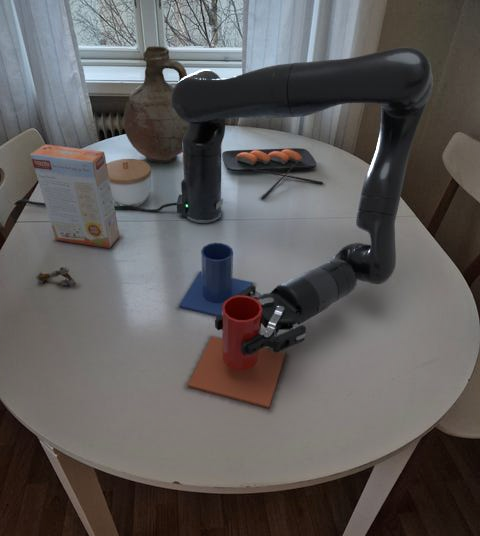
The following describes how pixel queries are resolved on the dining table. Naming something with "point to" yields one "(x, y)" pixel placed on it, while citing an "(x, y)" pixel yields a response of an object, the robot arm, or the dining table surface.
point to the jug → (155, 110)
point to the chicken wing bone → (62, 271)
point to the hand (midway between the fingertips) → (229, 337)
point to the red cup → (240, 330)
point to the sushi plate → (270, 161)
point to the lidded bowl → (129, 181)
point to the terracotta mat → (238, 376)
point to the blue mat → (200, 304)
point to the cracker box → (77, 194)
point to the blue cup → (217, 272)
